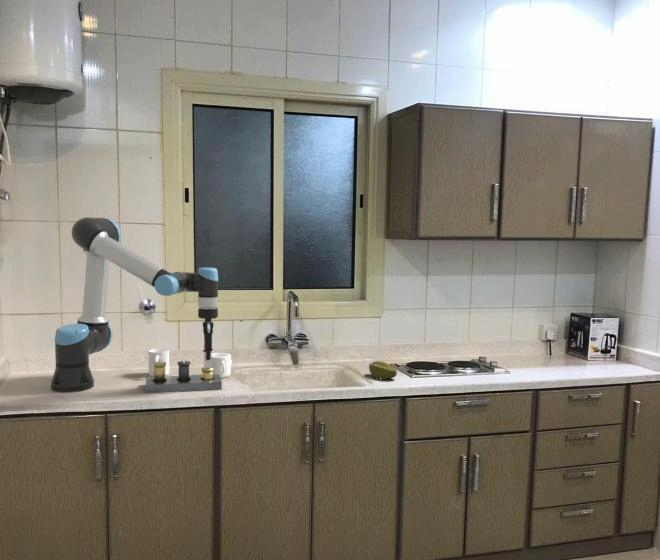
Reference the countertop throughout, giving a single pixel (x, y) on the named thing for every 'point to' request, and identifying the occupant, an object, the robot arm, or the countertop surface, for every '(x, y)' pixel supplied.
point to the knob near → (159, 371)
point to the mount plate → (183, 384)
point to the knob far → (207, 373)
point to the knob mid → (183, 370)
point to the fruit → (382, 370)
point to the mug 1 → (158, 359)
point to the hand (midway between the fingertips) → (207, 367)
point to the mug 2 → (221, 364)
